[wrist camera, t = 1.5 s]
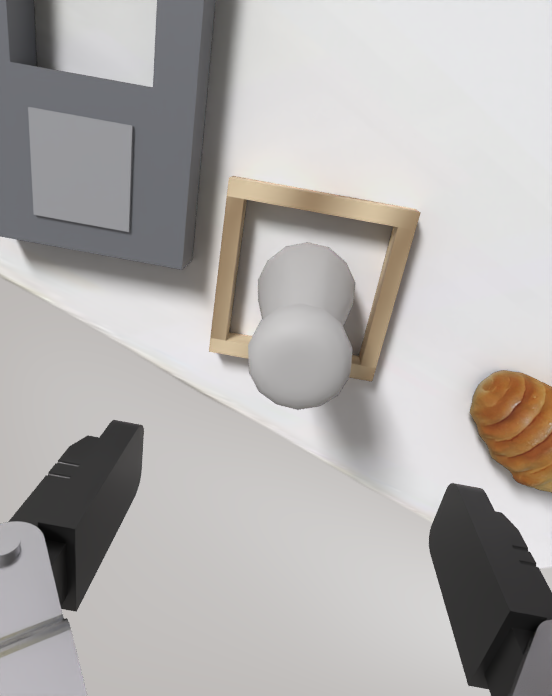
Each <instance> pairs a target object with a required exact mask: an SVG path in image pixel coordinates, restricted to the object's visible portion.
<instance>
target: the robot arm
mask: <svg viewBox="0 0 552 696" xmlns="http://www.w3.org/2000/svg"><path fill="white" fill-rule="evenodd" d="M143 435H144V429H143V426H142V425H139V424H133V423H128V422H122V421H117V420H113V421H112V422H111V423H110V424H109V425H108V427H107V428H106V430H105V431H104V432H103V434H102V435H101V436H100V438H98V437H93V436H86V437H85V438H83V439H81V440H80V441H78V442H77V443H75V444H73V445H71V446H70V447H69V448H68V449H67V450H66V452H65V453H64V454H63V455H62V456H61V458H60V459H59V460H58V463H57V464H55V465H54V466H53V468H52V469H51V470H50V471H49V473H48V476H45V477H44V479H43V480H42V481H41V482H40V484H39V485H38V486H37V488H36V489H35V490H34V491H33V492H32V494H31V495H30V496H29V497H28V498H27V500H26V501H25V502H24V503H23V505H22V506H21V507H20V508H19V510H18V511H17V512H16V513H15V514H14V516H13V517H12V518H11V519H10V521H9V522H5V523H1V524H0V696H87V692H86V688H85V684H84V680H83V676H82V672H81V668H80V664H79V659H78V655H77V651H76V647H75V643H74V640H73V635H72V631H71V628H70V624H69V622H68V619H64V618H63V614H62V610H61V609H66V610H71V611H77V609H78V607H79V605H80V603H81V602H82V599H83V598H84V595H85V594H86V592H87V590H88V588H89V586H90V584H91V582H92V580H93V578H94V576H95V574H96V572H97V570H98V568H99V566H100V564H101V562H102V560H103V558H104V556H105V554H106V552H107V550H108V548H109V546H110V544H111V542H112V541H113V539H114V537H115V535H116V532H117V531H118V529H119V527H120V525H121V523H122V521H123V519H124V517H125V515H126V513H127V511H128V509H129V507H130V505H131V503H132V501H133V499H134V497H135V495H136V492H137V489H138V486H139V483H140V478H141V470H142V452H143ZM429 549H430V554H431V557H432V561H433V564H434V568H435V571H436V575H437V578H438V582H439V585H440V589H441V592H442V596H443V599H444V603H445V606H446V610H447V613H448V616H449V620H450V623H451V627H452V630H453V634H454V637H455V641H456V644H457V648H458V651H459V655H460V658H461V662H462V665H463V668H464V672H465V675H466V679H467V683H468V685H469V686H474V687H479V688H485V689H489V690H490V693H491V696H552V592H551V590H550V588H549V586H548V585H547V583H546V581H545V579H544V577H543V575H542V573H541V571H540V570H539V568H538V567H536V562H535V560H534V558H533V556H532V555H531V553H530V552H528V547H527V545H526V543H525V541H524V540H523V538H522V536H521V534H520V532H519V530H518V529H517V528H516V527H515V526H514V525H513V524H512V523H511V522H510V521H509V520H508V519H507V518H506V517H505V516H504V515H503V513H500V512H495V511H494V509H493V507H492V505H491V503H490V501H489V499H488V497H487V495H486V493H485V491H484V490H483V489H481V488H476V487H471V486H465V485H460V484H454V483H451V484H450V485H449V486H448V487H447V489H446V492H445V494H444V497H443V499H442V501H441V504H440V506H439V509H438V511H437V514H436V516H435V519H434V521H433V524H432V526H431V529H430V535H429Z"/></svg>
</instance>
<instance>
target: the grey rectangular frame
mask: <svg viewBox="0 0 552 696" xmlns="http://www.w3.org/2000/svg"><path fill="white" fill-rule="evenodd" d="M215 2H216V0H157V15H156V36H155V57H154V78H153V88H152V87H147V86H141V85H136V84H130V83H125V82H119V81H114V80H108V79H103V78H97V77H92V76H86V75H80V74H75V73H69V72H64V71H58V70H53V69H47V68H42V67H37V61H36V38H35V16H34V0H0V236H1V237H6V238H12V239H17V240H23V241H28V242H34V243H39V244H45V245H50V246H55V247H61V248H66V249H72V250H77V251H83V252H88V253H94V254H99V255H105V256H110V257H115V258H121V259H126V260H132V261H137V262H143V263H148V264H154V265H159V266H164V267H170V268H175V269H181V270H182V269H183V268H184V267H185V266H186V265H187V264H189V263H190V262H191V261H192V257H193V246H194V235H195V224H196V212H197V201H198V190H199V179H200V168H201V157H202V146H203V135H204V124H205V113H206V102H207V91H208V80H209V69H210V57H211V46H212V35H213V24H214V13H215Z"/></svg>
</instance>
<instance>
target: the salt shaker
mask: <svg viewBox="0 0 552 696" xmlns="http://www.w3.org/2000/svg"><path fill="white" fill-rule="evenodd" d="M354 292H355V281H354V279H353V276H352V274H351V272H350V270H349V267H348V265H347V263H346V262H345V261H344V260H343V259H342V258H340V257H339V256H338V255H337V254H336V253H335V252H334V251H333V250H331V249H330V248H329V247H325V246H321V245H317V244H312V243H308V242H306V243H301V244H296V245H291V246H286V247H285V248H283V249H282V250H281V251H280V252H278V253H277V254H276V255H274V256H273V257H272V258H271V259H269V260H268V261H267V263H266V265H265V267H264V269H263V271H262V273H261V275H260V277H259V279H258V302H259V306H260V311H261V316H262V320H261V321H260V323H259V325H258V327H257V329H256V331H255V333H254V334H253V336H252V338H251V340H250V342H249V344H248V357H249V374H250V375H251V377H252V379H253V381H254V383H255V385H256V387H257V389H258V391H259V392H260V393H262V394H263V395H264V396H266V397H267V398H269V399H270V400H271V401H273V402H274V403H275V404H277V405H281V406H285V407H289V408H293V409H297V410H299V409H305V408H312V407H318V406H321V405H322V404H324V403H326V402H327V401H329V400H331V399H332V398H334V397H336V396H337V395H338V394H339V393H340V391H341V390H342V388H343V386H344V385H345V383H346V381H347V380H348V378H349V376H350V372H351V362H352V351H353V349H352V346H351V343H350V341H349V339H348V337H347V334H346V332H345V330H344V328H343V326H344V324H345V321H346V319H347V317H348V315H349V312H350V310H351V308H352V306H353V301H354Z"/></svg>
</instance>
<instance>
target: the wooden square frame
mask: <svg viewBox="0 0 552 696" xmlns="http://www.w3.org/2000/svg"><path fill="white" fill-rule="evenodd" d="M247 200H252V201H257V202H263V203H268V204H274V205H279V206H285V207H290V208H296V209H301V210H306V211H312V212H317V213H323V214H328V215H334V216H339V217H345V218H350V219H356V220H361V221H367V222H372V223H378V224H383V225H389V226H393V229H392V233H391V237H390V241H389V244H388V248H387V252H386V256H385V260H384V263H383V267H382V271H381V275H380V278H379V282H378V286H377V290H376V293H375V297H374V301H373V305H372V308H371V312H370V316H369V320H368V323H367V327H366V331H365V335H364V339H363V342H362V346H361V350H360V354H359V356H357V355H352V362H351V372H350V376H349V377H350V378H355V379H361V380H366V381H372V380H373V377H374V373H375V370H376V366H377V363H378V359H379V356H380V352H381V349H382V345H383V342H384V338H385V335H386V331H387V328H388V324H389V321H390V317H391V314H392V310H393V307H394V303H395V300H396V296H397V293H398V289H399V286H400V282H401V279H402V275H403V272H404V268H405V265H406V261H407V258H408V254H409V251H410V247H411V244H412V240H413V237H414V233H415V230H416V226H417V223H418V219H419V216H420V212H419V211H417V210H416V209H411V208H406V207H400V206H395V205H389V204H384V203H378V202H373V201H367V200H362V199H357V198H351V197H346V196H340V195H335V194H329V193H324V192H318V191H313V190H307V189H302V188H296V187H291V186H285V185H280V184H274V183H269V182H263V181H258V180H252V179H247V178H241V177H236V176H232V177H230V178H229V182H228V190H227V199H226V208H225V216H224V225H223V234H222V242H221V251H220V260H219V268H218V277H217V286H216V294H215V303H214V312H213V320H212V329H211V338H210V347H209V352H214V353H220V354H225V355H231V356H236V357H242V358H247V359H249V357H248V344H249V342H250V340H251V338H252V336H248V335H243V334H237V333H232V332H230V324H231V317H232V309H233V302H234V294H235V287H236V279H237V272H238V264H239V257H240V249H241V242H242V234H243V226H244V219H245V211H246V204H247Z"/></svg>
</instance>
